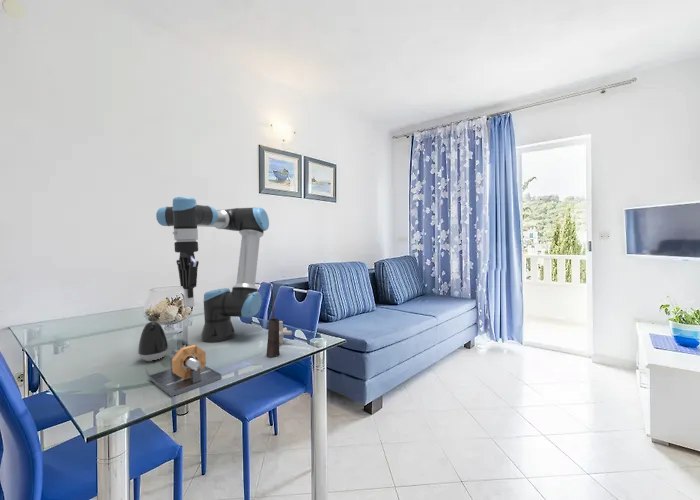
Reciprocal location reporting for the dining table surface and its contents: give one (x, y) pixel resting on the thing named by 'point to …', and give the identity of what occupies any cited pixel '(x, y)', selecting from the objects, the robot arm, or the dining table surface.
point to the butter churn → (273, 335)
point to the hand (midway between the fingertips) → (189, 306)
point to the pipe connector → (283, 332)
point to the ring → (182, 355)
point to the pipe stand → (179, 385)
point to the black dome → (152, 342)
